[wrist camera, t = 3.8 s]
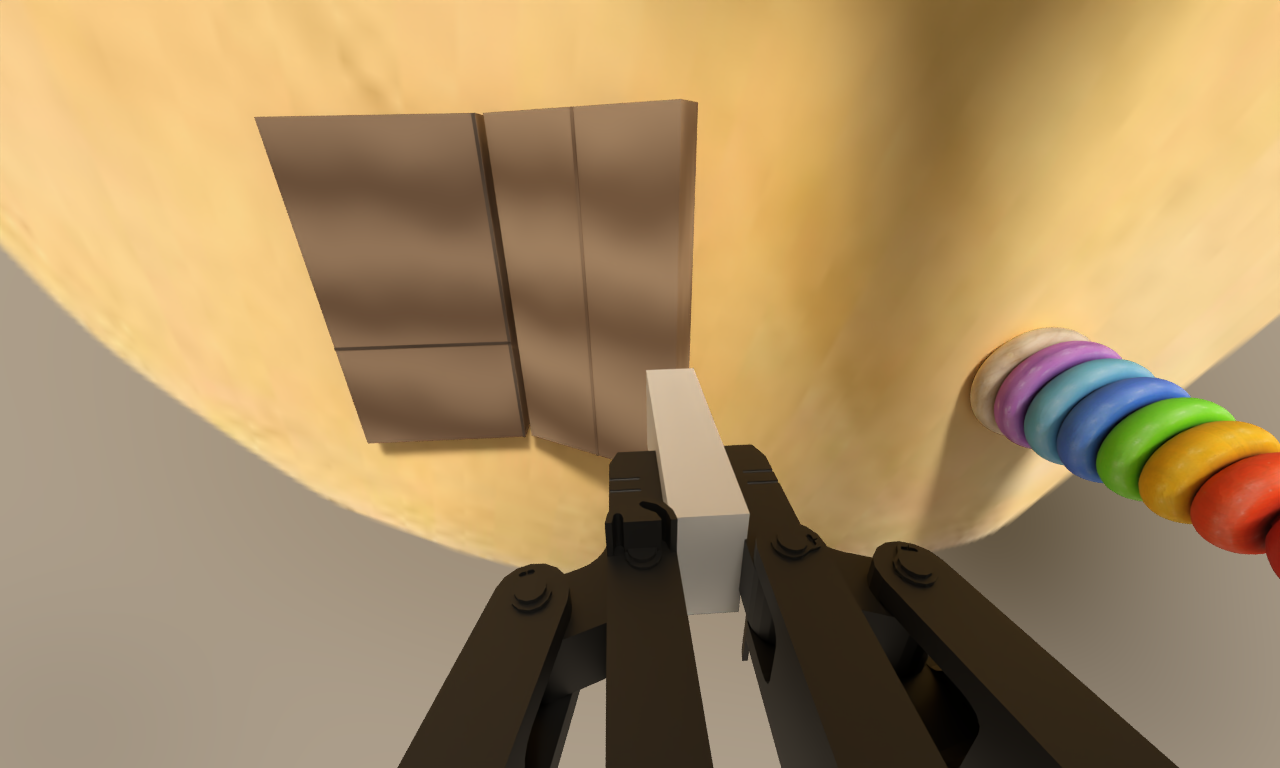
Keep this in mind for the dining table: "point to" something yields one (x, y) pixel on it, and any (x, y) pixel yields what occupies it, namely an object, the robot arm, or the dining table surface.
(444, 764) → the robot arm
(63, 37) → the dining table surface
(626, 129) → the plank
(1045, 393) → the stacking toy
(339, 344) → the panel
